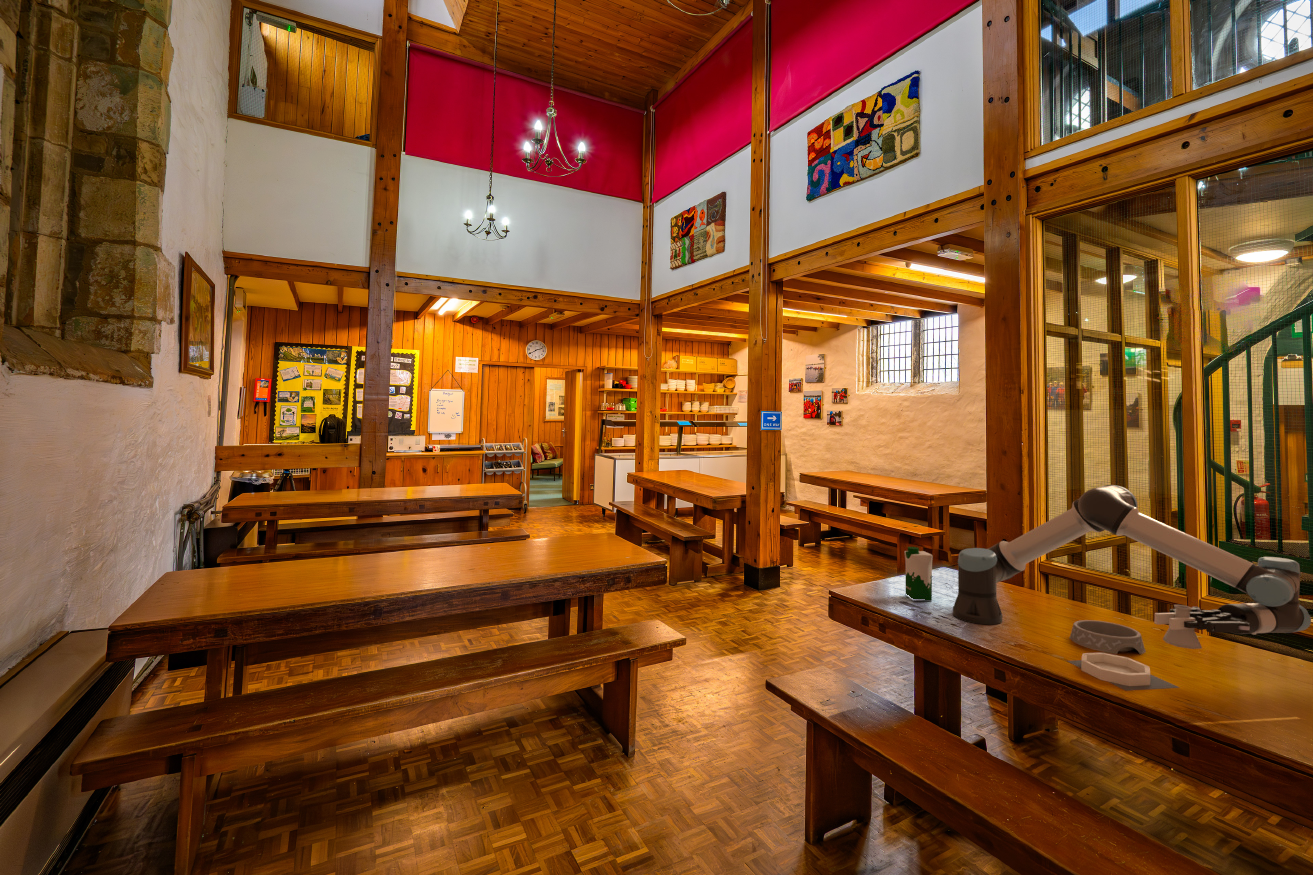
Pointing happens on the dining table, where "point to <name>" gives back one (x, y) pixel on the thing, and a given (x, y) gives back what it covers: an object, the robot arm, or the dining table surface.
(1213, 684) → the dining table surface
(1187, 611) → the flask
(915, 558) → the milk carton
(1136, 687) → the mat
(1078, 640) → the dog bowl
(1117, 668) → the bowl
